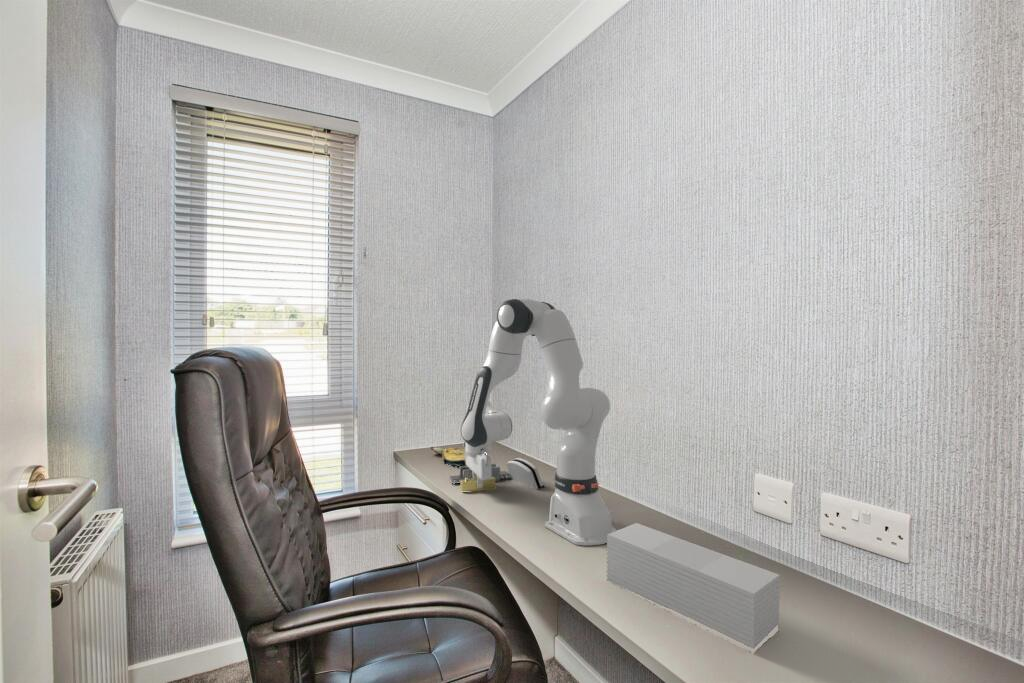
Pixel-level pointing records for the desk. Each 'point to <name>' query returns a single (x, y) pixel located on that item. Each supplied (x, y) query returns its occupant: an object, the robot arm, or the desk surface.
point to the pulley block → (451, 455)
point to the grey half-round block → (524, 473)
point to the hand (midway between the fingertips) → (477, 485)
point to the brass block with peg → (471, 484)
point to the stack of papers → (695, 582)
